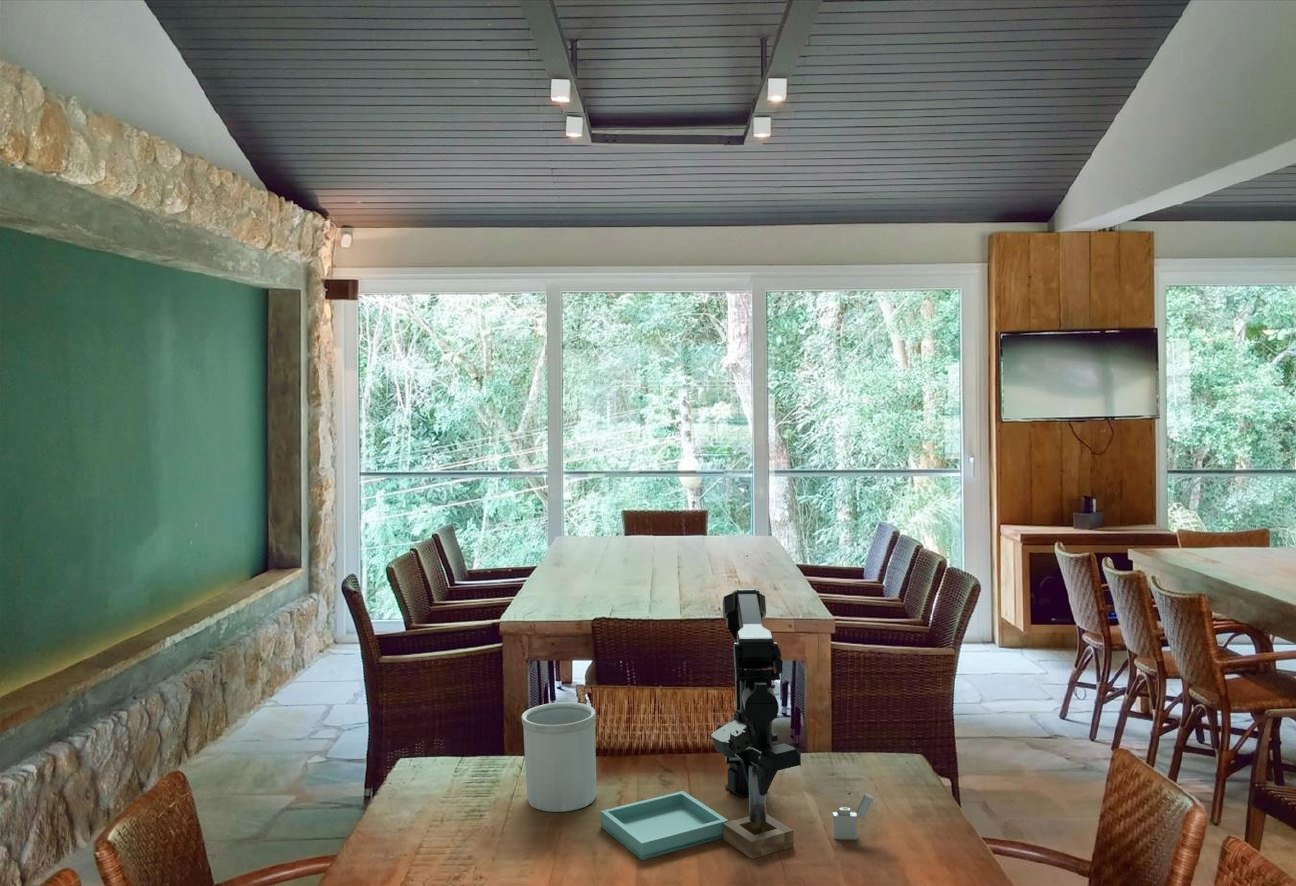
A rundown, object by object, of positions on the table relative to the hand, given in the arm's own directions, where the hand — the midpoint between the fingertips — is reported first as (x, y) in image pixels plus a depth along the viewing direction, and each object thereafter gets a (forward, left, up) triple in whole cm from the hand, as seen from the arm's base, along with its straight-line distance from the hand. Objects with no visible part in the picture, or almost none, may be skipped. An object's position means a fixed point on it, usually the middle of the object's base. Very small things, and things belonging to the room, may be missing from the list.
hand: (757, 791), depth 182 cm
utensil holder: (+22, -37, -10) cm, 44 cm away
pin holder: (0, 0, -9) cm, 9 cm away
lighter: (-16, +7, -10) cm, 20 cm away
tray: (+12, -13, -9) cm, 20 cm away
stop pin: (0, 0, -5) cm, 5 cm away
